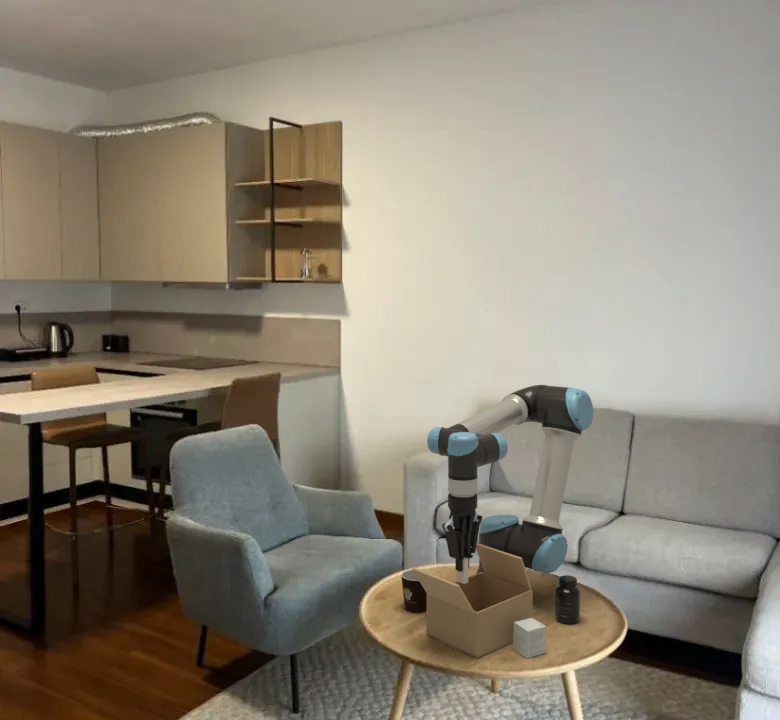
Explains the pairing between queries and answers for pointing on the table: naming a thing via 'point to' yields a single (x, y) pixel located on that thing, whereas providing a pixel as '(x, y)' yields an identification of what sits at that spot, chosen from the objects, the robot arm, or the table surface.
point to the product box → (529, 637)
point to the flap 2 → (503, 565)
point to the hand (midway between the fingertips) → (462, 581)
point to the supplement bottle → (567, 600)
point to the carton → (480, 615)
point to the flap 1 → (443, 590)
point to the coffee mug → (413, 593)
